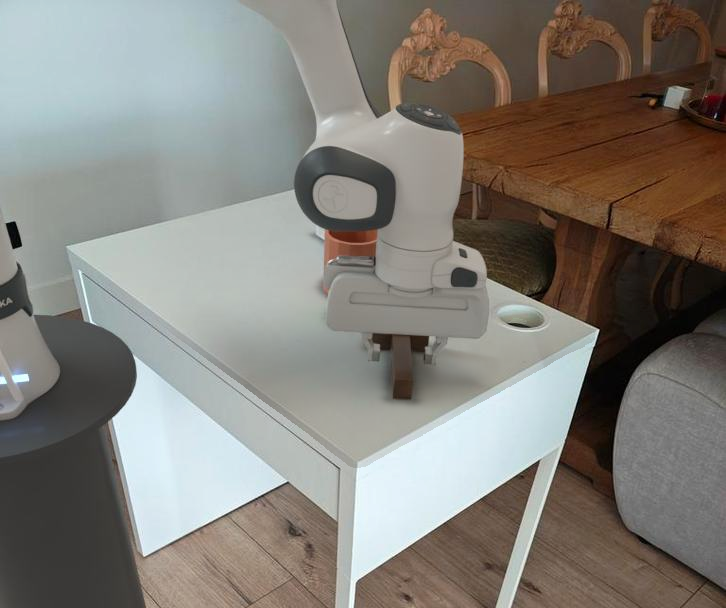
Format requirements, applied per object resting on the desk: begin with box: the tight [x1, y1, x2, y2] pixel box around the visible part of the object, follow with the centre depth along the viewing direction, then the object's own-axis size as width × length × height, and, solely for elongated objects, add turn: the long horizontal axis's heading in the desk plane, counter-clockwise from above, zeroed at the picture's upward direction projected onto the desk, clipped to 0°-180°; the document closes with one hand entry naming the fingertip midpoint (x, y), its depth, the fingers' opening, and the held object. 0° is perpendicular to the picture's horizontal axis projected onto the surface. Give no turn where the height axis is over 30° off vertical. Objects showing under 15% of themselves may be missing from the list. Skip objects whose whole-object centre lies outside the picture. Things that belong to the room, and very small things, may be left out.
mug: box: [322, 229, 377, 295], centre depth 109 cm, size 12×9×9 cm
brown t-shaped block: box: [372, 333, 430, 401], centre depth 93 cm, size 8×13×4 cm, turn 0°
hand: (401, 360), depth 92 cm, fingers open, 6 cm apart
